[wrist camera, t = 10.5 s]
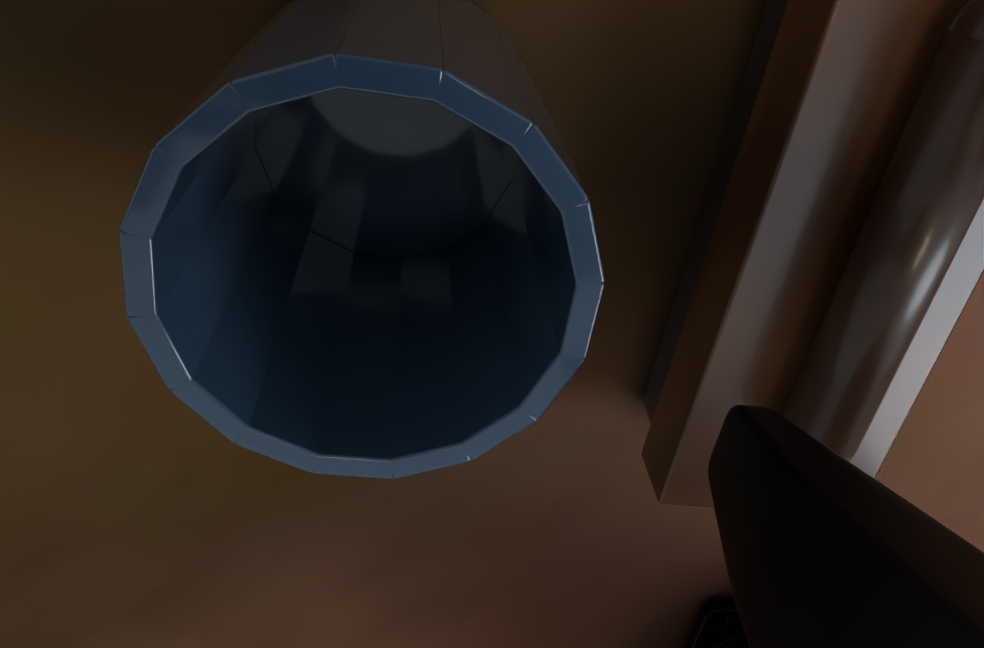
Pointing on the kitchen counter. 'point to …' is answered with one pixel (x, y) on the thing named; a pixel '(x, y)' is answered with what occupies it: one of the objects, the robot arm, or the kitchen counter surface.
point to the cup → (365, 242)
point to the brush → (828, 234)
